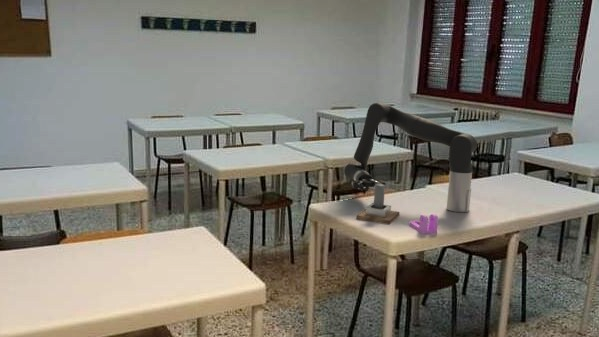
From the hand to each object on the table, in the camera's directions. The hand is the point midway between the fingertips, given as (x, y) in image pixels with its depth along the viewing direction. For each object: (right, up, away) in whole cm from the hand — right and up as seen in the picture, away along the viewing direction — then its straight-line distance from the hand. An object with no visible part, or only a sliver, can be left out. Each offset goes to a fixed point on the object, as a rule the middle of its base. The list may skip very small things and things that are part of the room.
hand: (372, 188), depth 231 cm
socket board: (+1, -12, -8) cm, 14 cm away
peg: (+1, -10, -9) cm, 13 cm away
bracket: (+16, -15, -21) cm, 31 cm away
